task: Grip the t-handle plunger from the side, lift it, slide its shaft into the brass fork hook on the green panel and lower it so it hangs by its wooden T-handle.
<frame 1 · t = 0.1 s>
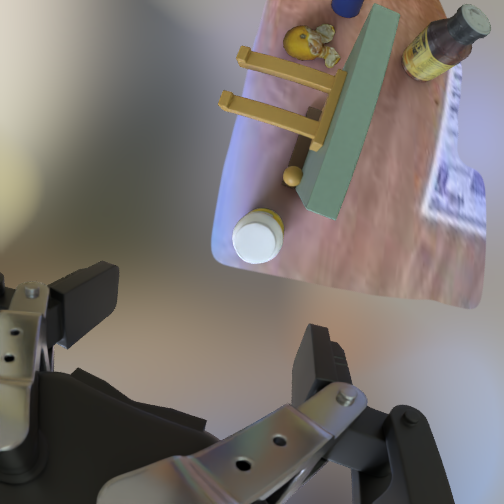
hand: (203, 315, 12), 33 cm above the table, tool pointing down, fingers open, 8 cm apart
t-handle plunger: (345, 7, 34), on the table
green panel: (285, 141, 41), on the table
sauce bottle: (416, 67, 35), on the table
pill bottle: (263, 228, 45), on the table
fruit: (316, 49, 37), on the table
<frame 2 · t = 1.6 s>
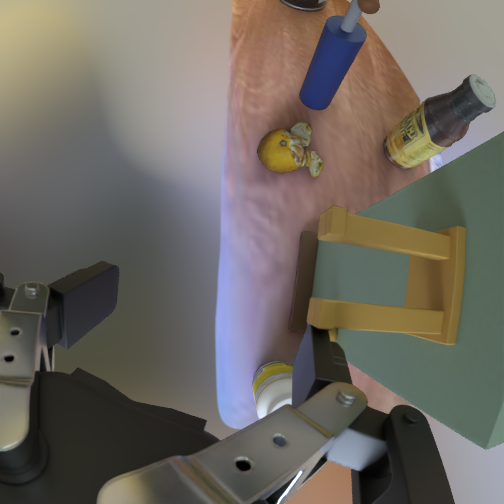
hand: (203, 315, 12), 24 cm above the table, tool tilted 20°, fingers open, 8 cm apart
t-handle plunger: (314, 97, 39), on the table
green panel: (283, 279, 36), on the table
sauce bottle: (398, 153, 39), on the table
pill bottle: (276, 382, 35), on the table
fruit: (294, 155, 38), on the table
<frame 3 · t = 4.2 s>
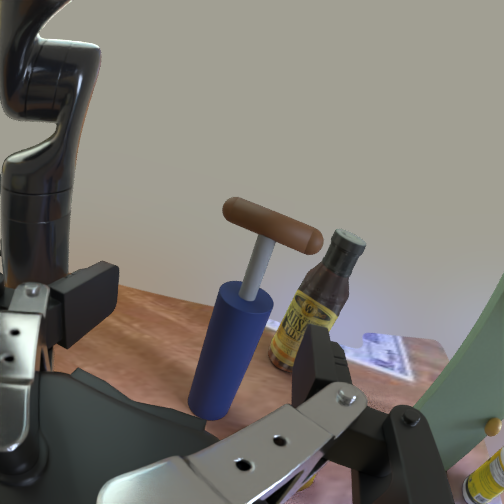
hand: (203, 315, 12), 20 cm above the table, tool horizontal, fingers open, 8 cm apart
t-handle plunger: (208, 404, 30), on the table
green panel: (407, 489, 23), on the table
sauce bottle: (287, 361, 41), on the table
pill bottle: (473, 493, 21), on the table
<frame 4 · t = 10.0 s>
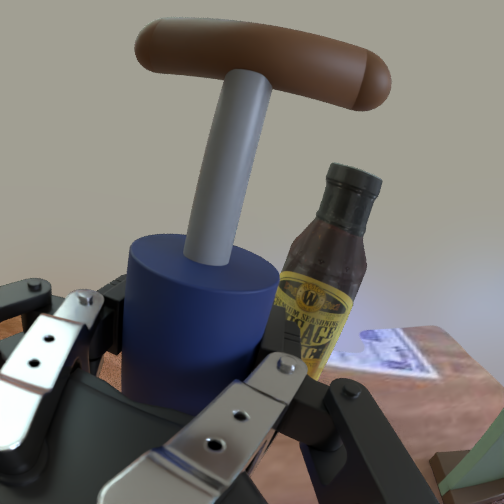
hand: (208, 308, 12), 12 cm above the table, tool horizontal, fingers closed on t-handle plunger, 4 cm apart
t-handle plunger: (167, 492, 13), on the table, touching gripper
sauce bottle: (276, 391, 26), on the table
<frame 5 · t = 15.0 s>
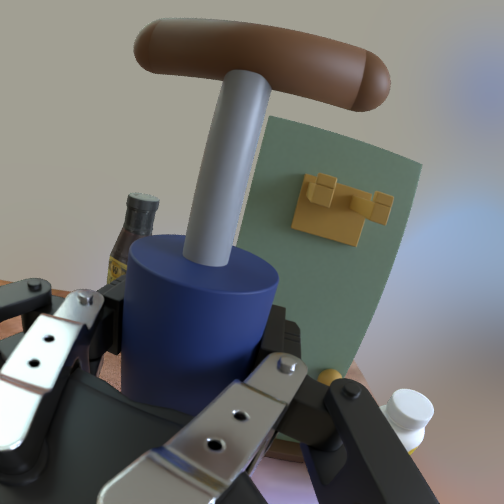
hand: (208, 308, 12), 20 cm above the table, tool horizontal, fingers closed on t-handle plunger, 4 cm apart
t-handle plunger: (167, 493, 13), point 8 cm above the table, touching gripper
green panel: (244, 463, 24), on the table
sauce bottle: (125, 332, 40), on the table
pill bottle: (360, 472, 25), on the table
when the fingers open (18 cm above the table, at t = 20.3 s): t-handle plunger stays where it is, resting on green panel.
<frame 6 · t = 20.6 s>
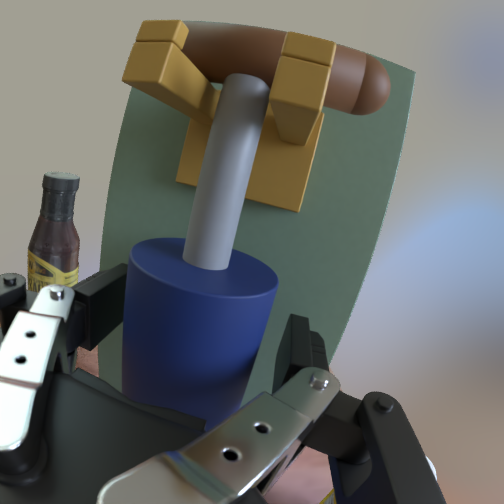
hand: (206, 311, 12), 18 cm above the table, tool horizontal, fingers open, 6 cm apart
t-handle plunger: (167, 493, 13), point 6 cm above the table, touching green panel
sauce bottle: (55, 339, 30), on the table
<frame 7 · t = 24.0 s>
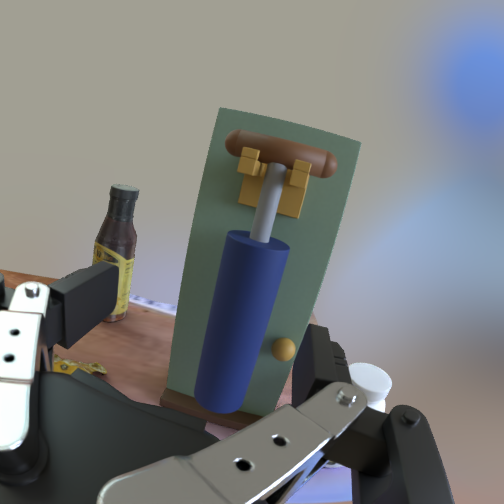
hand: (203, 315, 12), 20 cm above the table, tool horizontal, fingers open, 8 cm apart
t-handle plunger: (218, 396, 25), point 6 cm above the table, touching green panel
green panel: (208, 432, 27), on the table
sauce bottle: (109, 315, 43), on the table
pill bottle: (326, 450, 27), on the table
fruit: (75, 381, 28), on the table
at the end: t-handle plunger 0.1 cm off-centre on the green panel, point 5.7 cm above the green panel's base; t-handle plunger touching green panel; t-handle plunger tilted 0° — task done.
